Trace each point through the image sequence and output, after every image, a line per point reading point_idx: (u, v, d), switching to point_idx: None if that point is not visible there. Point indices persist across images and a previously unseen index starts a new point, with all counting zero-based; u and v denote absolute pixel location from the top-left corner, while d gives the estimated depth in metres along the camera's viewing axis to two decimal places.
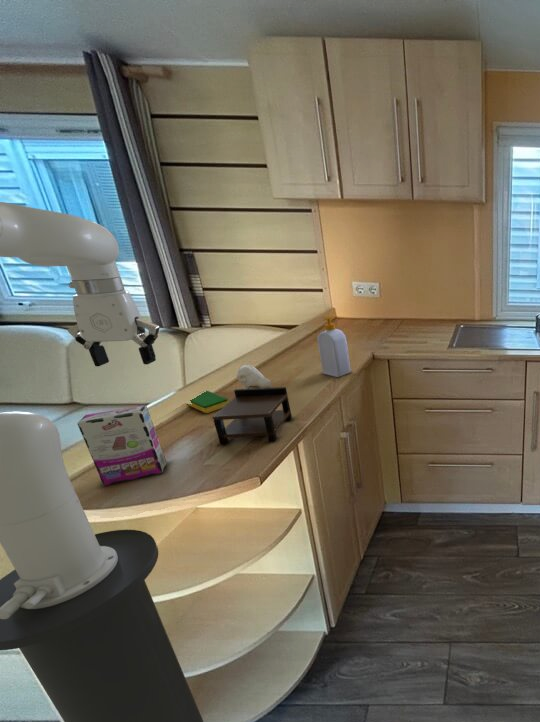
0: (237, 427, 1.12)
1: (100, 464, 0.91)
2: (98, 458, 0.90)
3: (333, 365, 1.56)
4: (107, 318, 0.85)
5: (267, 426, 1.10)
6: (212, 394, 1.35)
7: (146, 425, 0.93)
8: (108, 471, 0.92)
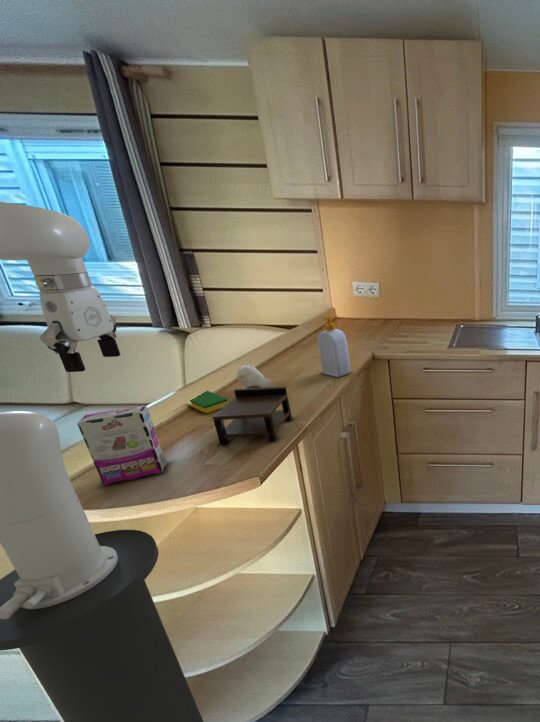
0: (237, 427, 1.12)
1: (100, 464, 0.91)
2: (98, 458, 0.90)
3: (333, 365, 1.56)
4: (96, 311, 0.85)
5: (267, 426, 1.10)
6: (212, 394, 1.35)
7: (145, 425, 0.93)
8: (108, 471, 0.92)
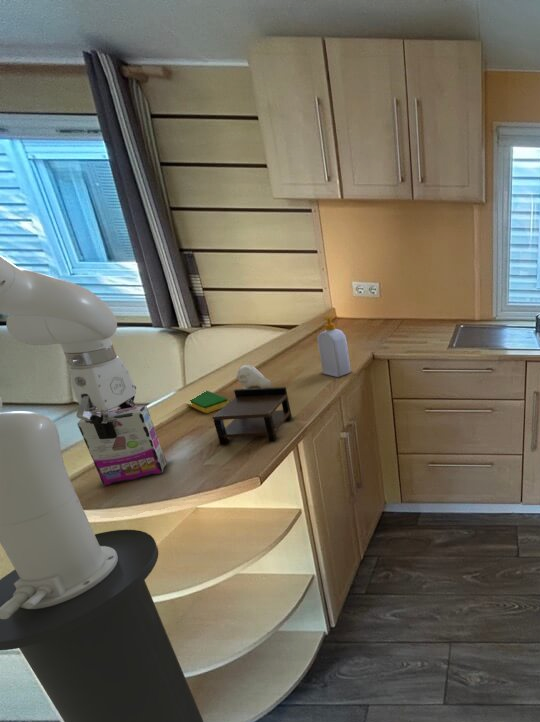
0: (237, 427, 1.12)
1: (100, 464, 0.91)
2: (98, 458, 0.90)
3: (333, 365, 1.56)
4: (121, 380, 0.90)
5: (267, 426, 1.10)
6: (212, 394, 1.35)
7: (145, 425, 0.93)
8: (109, 471, 0.92)
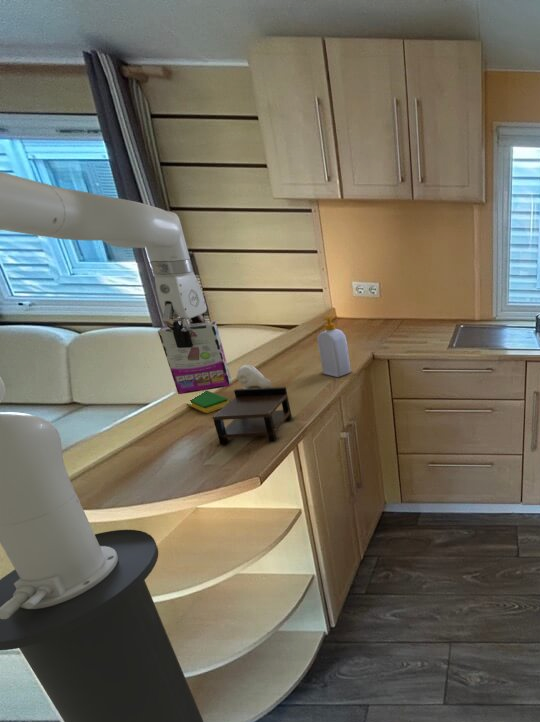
0: (237, 427, 1.12)
1: (176, 373, 0.98)
2: (174, 366, 0.97)
3: (333, 365, 1.56)
4: (196, 293, 0.97)
5: (267, 426, 1.10)
6: (212, 394, 1.35)
7: (217, 338, 1.00)
8: (183, 380, 0.99)
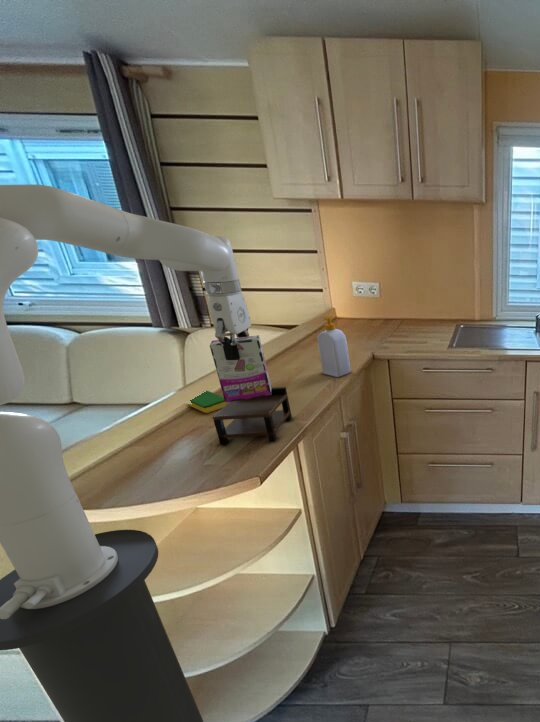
0: (237, 427, 1.12)
1: (224, 383, 1.07)
2: (223, 377, 1.06)
3: (333, 365, 1.56)
4: (243, 310, 1.06)
5: (267, 426, 1.10)
6: (212, 394, 1.35)
7: (261, 351, 1.08)
8: (230, 389, 1.08)
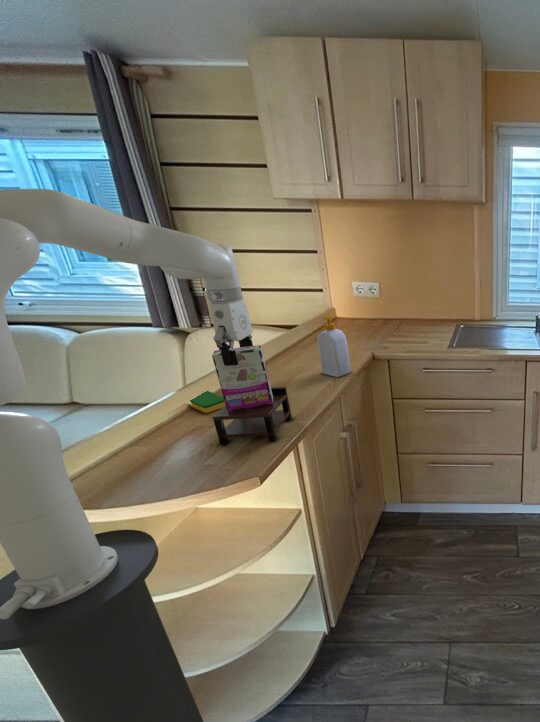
0: (237, 427, 1.12)
1: (226, 392, 1.07)
2: (225, 387, 1.07)
3: (333, 365, 1.56)
4: (244, 317, 1.06)
5: (267, 426, 1.10)
6: (212, 394, 1.35)
7: (263, 361, 1.09)
8: (232, 399, 1.09)
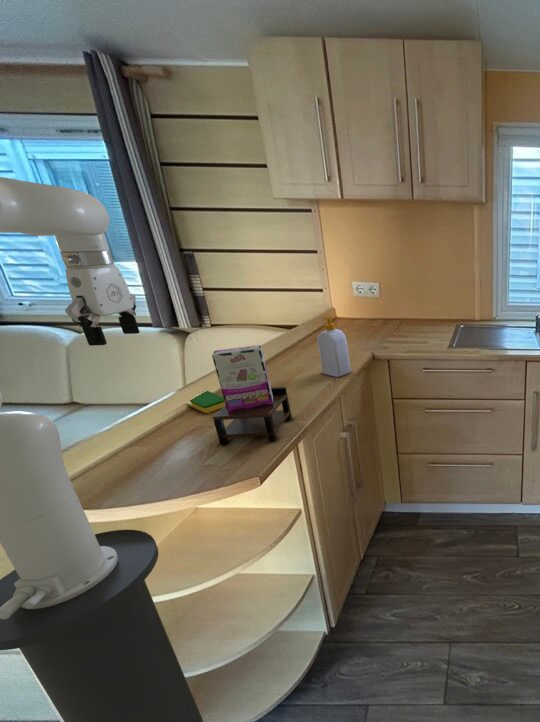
0: (237, 427, 1.12)
1: (226, 392, 1.07)
2: (225, 387, 1.07)
3: (333, 365, 1.56)
4: (118, 288, 0.89)
5: (267, 426, 1.10)
6: (212, 394, 1.35)
7: (263, 361, 1.09)
8: (232, 399, 1.09)
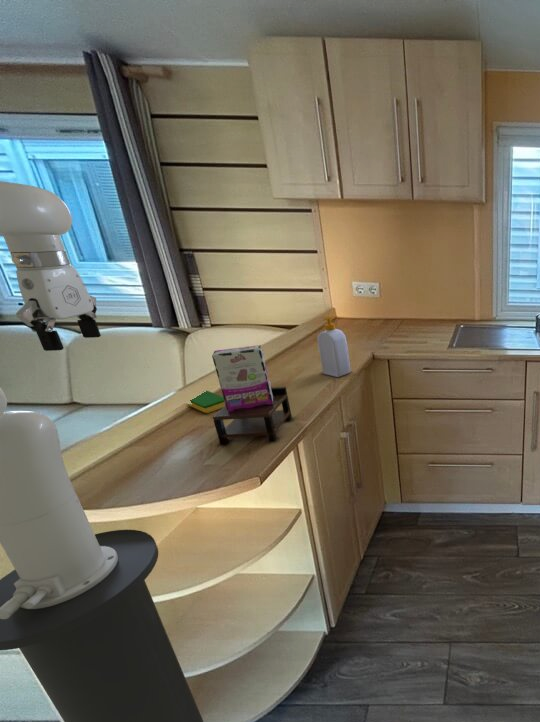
0: (237, 427, 1.12)
1: (226, 392, 1.07)
2: (225, 387, 1.07)
3: (333, 365, 1.56)
4: (75, 290, 0.84)
5: (267, 426, 1.10)
6: (212, 394, 1.35)
7: (263, 361, 1.09)
8: (232, 399, 1.09)
